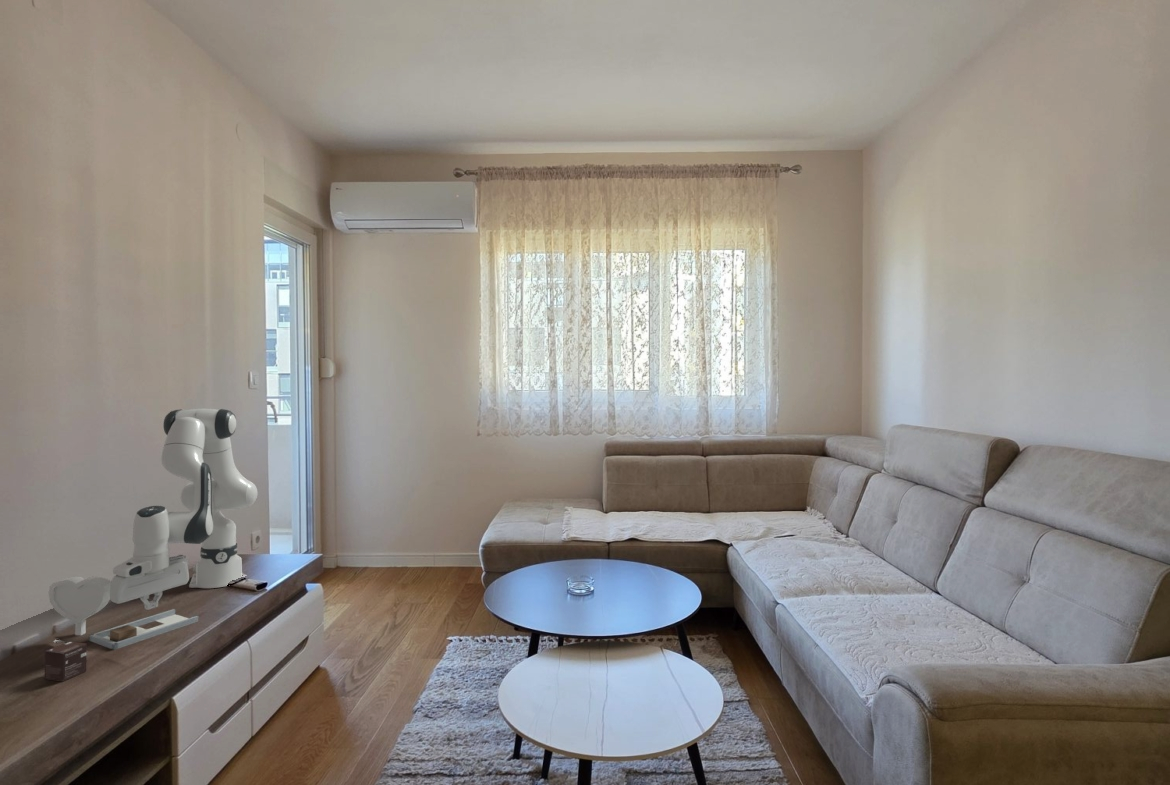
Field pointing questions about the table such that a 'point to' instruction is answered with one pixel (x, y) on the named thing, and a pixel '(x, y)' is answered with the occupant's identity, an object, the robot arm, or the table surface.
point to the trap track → (167, 618)
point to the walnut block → (123, 633)
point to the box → (65, 661)
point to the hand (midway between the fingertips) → (151, 607)
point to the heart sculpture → (79, 599)
